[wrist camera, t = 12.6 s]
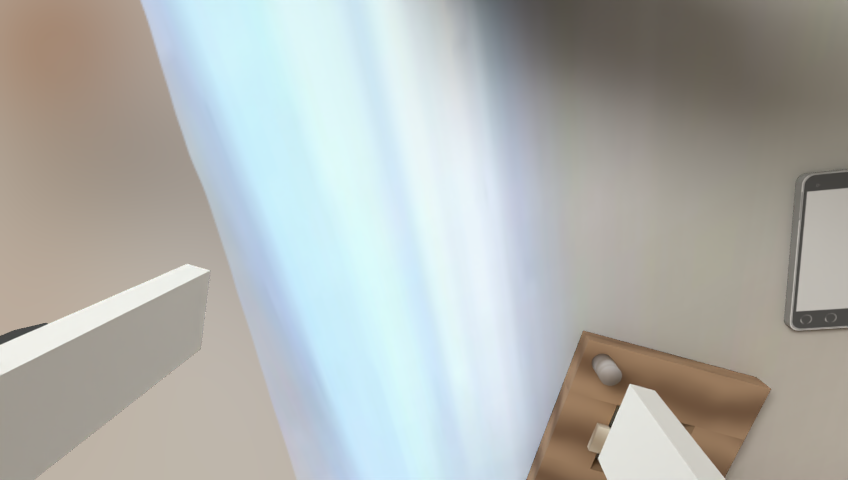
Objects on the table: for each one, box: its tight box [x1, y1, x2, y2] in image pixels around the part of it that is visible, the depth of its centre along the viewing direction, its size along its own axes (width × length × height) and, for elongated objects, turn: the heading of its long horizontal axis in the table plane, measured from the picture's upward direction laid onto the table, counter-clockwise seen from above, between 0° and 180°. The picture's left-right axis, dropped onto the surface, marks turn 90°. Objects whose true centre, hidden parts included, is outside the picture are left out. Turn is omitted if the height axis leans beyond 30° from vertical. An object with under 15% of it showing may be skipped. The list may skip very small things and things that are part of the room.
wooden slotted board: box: [526, 331, 771, 480], centre depth 42 cm, size 20×18×4 cm
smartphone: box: [784, 169, 848, 330], centre depth 38 cm, size 7×1×15 cm
